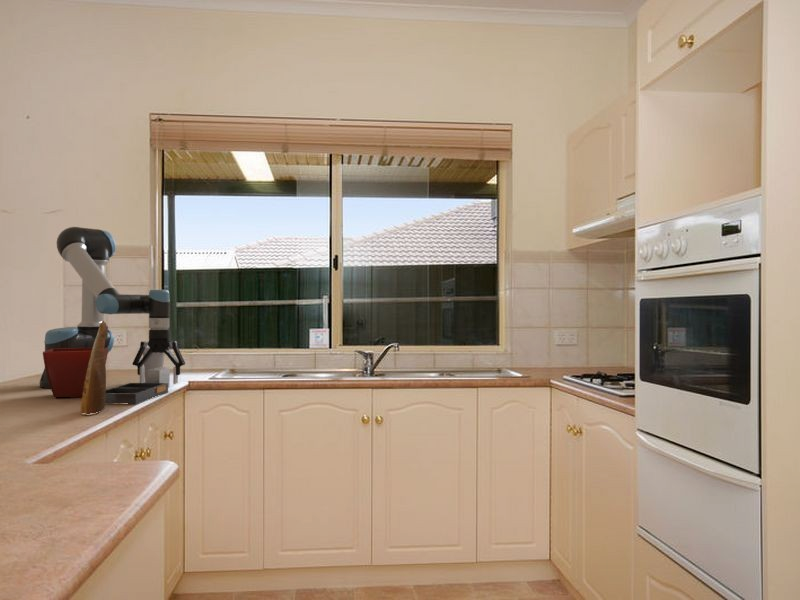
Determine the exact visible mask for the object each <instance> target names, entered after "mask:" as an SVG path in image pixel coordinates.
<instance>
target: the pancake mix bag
mask: <svg viewBox="0 0 800 600" xmlns="http://www.w3.org/2000/svg"><path fill="white" fill-rule="evenodd" d="M106 324H107V323H106V322H105V320H104V321H102V323H100V327H99V330H98V333H97V336H96V339H95V342H94V345H93V348H92V352H91V356H90V360H89V364H88V369H87V373H86V378H85V383H84V389H83V395H82V397H81V402H80V403H81V404H80V412H81V413H86V414H90V413H96V412H99V411H101V410H102V409H103V408H104V407H106V404H105V396H106V389H107V370H106V369H107V367H106V365H105V351H104V345H105V339H106V331H107V328H106ZM104 409H105V408H104ZM104 409H103V410H104ZM103 410H102V411H103ZM102 411H101V412H102ZM81 413H80V414H81Z"/></svg>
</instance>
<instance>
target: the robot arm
mask: <svg viewBox="0 0 800 600" xmlns="http://www.w3.org/2000/svg"><path fill="white" fill-rule="evenodd" d="M56 249H57V251H58V254H59V255H60V256H61V258H62V259H63V260H64V261H65V262H69V264H70V265H71V266H72V268H73V269H74V271H75V272H76V273H77V274H78V276H79V277H80V279H81V280H82V281H81V321H80V323H78V324H77V327H76V326H70V327H68V326H65V327H58V328H52V329H49V330H47V331H46V332H45V336H44V351H47V350H50V349H60V348H93V345H94V342H95V339H96V336H97V333H98V330H99V327H100V323H102V321H104V322H105V315H123V314H124V315H125V314H126V315H127V314H128V315H129V314H130V315H132V314H135V315H137V314H138V315H140V314H142V315H143V314H145V315H146V314H147V315H148V329H149V330H148V341H146V340H145V341H144V340H143V341H142V340H141V341H140V344H139V348H138V351H137V353H136V355H135V357H134V359H133V361H132V366H136V367H137V375H138V376H139V383H145V366H144V363H145V362H146V361H147V359H148V358H149V357H150V356H151V354H152V353H158V352H159V353H165V354H164V355H166V356H167V357H168V359H169V360H170V361H171V363H172V364H173V365H174V367H173V369H172V370H173V374H172V375H173V377H172V378H173V379H172V382H173V383H172V384H173V385H176V384H178V383H179V382H178V381H179V376H180V375H181V367H182V366H185V365H186V362H185V360H184V357H183V355H182V352H181V351H180V348H179V343H178V341H176V340H175V341H170V329H169V328H170V309H171V307H170V306H171V305H170V303H171V300H170V299H171V298H170V292H169V290H167V289H150V290H149V292H148V294H124V293H119V291H118V290H117V289H116V288H115V286H114V285H113V284H112V283H111V281H110V280H109V279H108V277H107V276H106V265H107V264H109V262H110V258H113V256H114V255H115V252H116V249H117V246H116V240H115V238H114V237H113V235H112V234H111V233H110V232H108V231H106V230H103V229H102V230H101V229H98V228H97V229H96V228H86V227H80V226H71V227H67V228H65V229H64V230H62V231H61V232H60V233H59V234H58V235H57V239H56ZM106 328H107V331H106V339H105V345H104V347H108V353H107V355H108V354H109V353H110V352H111V351H112V348H113V347H114V343H115V337H114V334H113V332H112V330H110V329H109V325H108V324H107V323H106ZM146 347H150V349H149V350H148V351H147V353H146V354H145V356H144V357H143V352H144V350H145V348H146ZM170 347H171V348H172V350H173V352H174V354H173V353H172V351H171V350H170ZM41 387H44V389H51V388H50V384H49V381H48V378H47V374H46V369H45V367H44V368H43V372H42V375H41V376H40V379H39V388H41Z"/></svg>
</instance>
